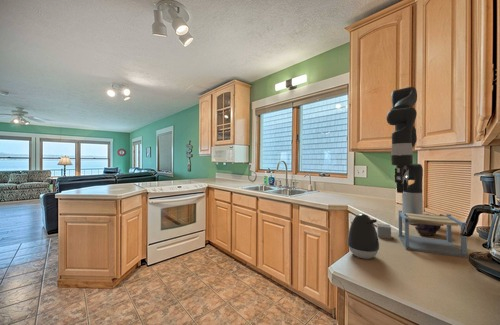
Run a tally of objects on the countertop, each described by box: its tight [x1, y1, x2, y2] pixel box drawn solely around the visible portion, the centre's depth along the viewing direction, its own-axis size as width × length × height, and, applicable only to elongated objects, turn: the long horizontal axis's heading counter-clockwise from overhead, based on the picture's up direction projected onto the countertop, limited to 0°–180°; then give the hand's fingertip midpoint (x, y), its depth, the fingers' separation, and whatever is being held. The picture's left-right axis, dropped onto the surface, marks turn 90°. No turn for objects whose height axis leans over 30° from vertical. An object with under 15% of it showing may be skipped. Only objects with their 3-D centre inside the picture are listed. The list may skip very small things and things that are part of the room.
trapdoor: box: [404, 213, 459, 227], centre depth 88 cm, size 14×15×4 cm
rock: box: [414, 213, 442, 237], centre depth 102 cm, size 12×9×10 cm
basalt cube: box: [376, 223, 392, 240], centre depth 99 cm, size 5×5×5 cm
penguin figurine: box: [347, 213, 380, 260], centre depth 78 cm, size 10×10×15 cm
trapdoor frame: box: [397, 210, 469, 259], centre depth 87 cm, size 17×18×12 cm
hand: (402, 191), depth 93 cm, fingers open, 8 cm apart
